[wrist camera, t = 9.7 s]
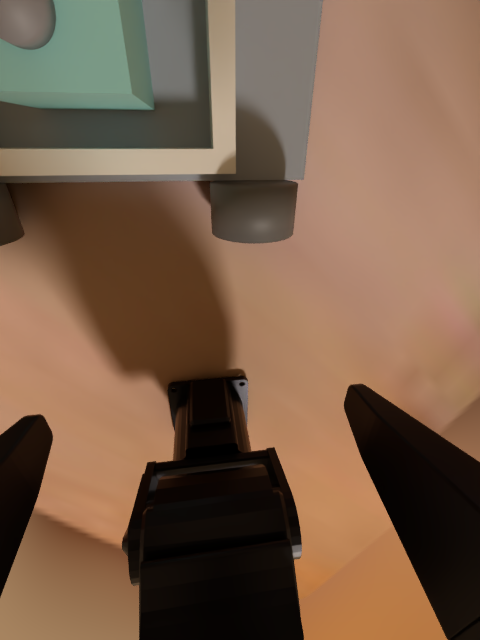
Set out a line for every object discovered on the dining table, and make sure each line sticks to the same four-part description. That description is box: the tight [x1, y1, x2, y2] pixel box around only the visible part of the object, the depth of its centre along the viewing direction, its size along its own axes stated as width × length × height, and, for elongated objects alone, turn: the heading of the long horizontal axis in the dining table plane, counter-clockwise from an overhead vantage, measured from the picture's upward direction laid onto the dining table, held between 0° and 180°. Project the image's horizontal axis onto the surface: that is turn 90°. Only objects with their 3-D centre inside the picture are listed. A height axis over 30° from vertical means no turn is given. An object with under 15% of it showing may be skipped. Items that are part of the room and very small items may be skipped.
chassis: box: [0, 0, 323, 246], centre depth 11 cm, size 17×20×4 cm
